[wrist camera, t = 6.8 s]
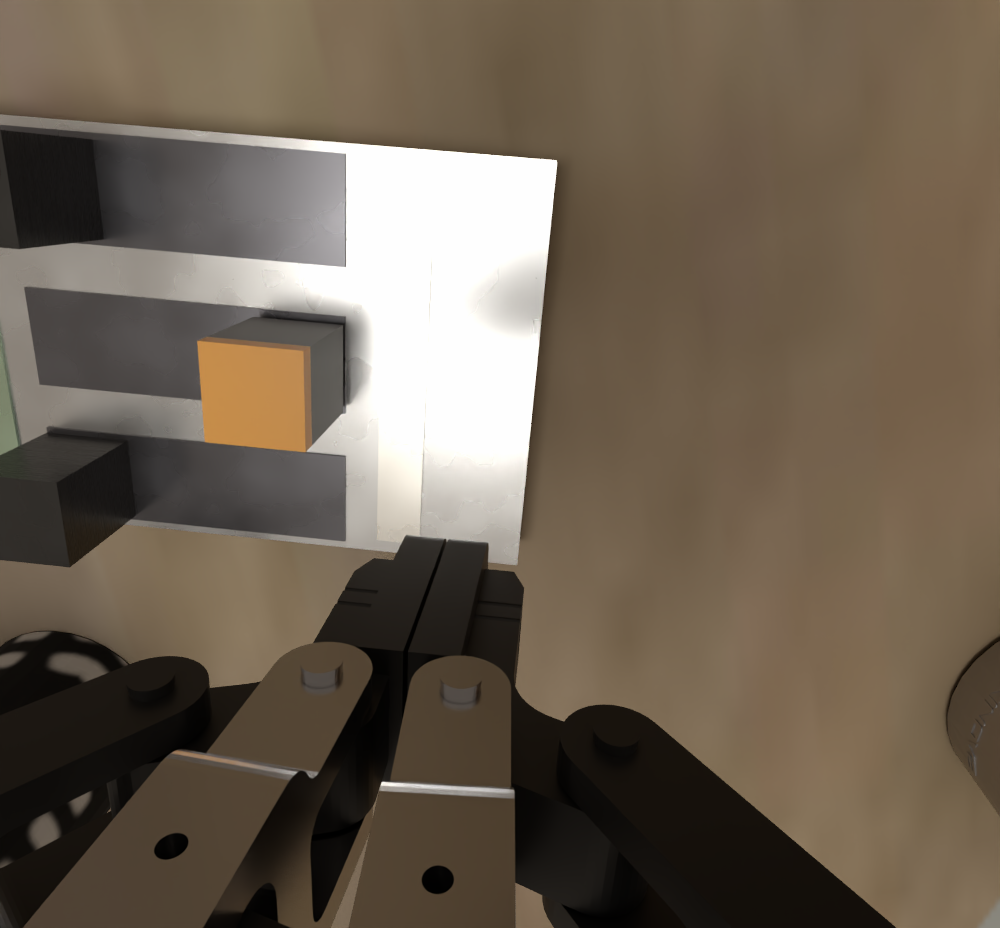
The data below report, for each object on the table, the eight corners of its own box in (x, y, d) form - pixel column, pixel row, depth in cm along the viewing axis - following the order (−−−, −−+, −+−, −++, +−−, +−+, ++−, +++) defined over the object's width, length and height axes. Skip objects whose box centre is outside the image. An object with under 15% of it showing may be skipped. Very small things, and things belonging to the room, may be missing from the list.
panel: (557, 162, 24) (557, 154, 18) (519, 540, 29) (510, 627, 23) (-144, 104, 25) (-353, 79, 19) (-60, 481, 30) (-206, 550, 24)
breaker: (343, 325, 24) (303, 351, 20) (343, 412, 25) (305, 452, 21) (253, 316, 24) (197, 340, 20) (257, 404, 25) (204, 442, 21)
